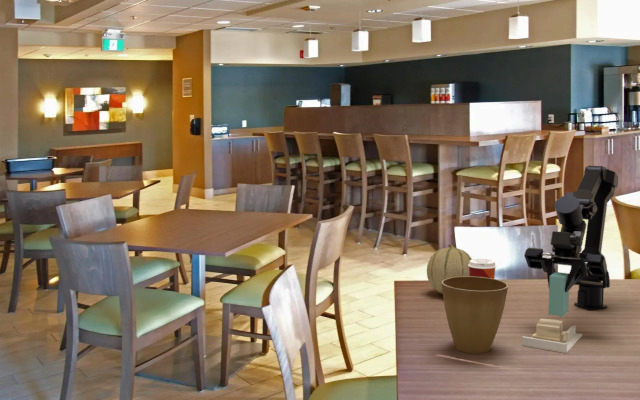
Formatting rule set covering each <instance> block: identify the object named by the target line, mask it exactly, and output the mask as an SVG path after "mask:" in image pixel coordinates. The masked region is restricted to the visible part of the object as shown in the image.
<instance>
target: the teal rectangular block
mask: <svg viewBox="0 0 640 400" xmlns="http://www.w3.org/2000/svg"><path fill="white" fill-rule="evenodd" d="M569 273H570V272H569ZM569 273H568V272H558V271H556V272H555V273H553V274H552V275H550V282H549V286H548V292H549V293H548V315H549V316H550V315H551V316H556V317H565V315H566V314H568V313H569V308H570V305H569V304H570V302H569V301H570V290H569V291H568V292H565V286H566V282H567V279H568V276H569Z"/></svg>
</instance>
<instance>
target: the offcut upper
mask: <svg viewBox="0 0 640 400" xmlns="http://www.w3.org/2000/svg"><path fill="white" fill-rule="evenodd" d="M563 323H564V322H563V320H558V319H549V318H548V319H547V318H540V319H539V320H538V322H537V323H536V327H535V328H536V331H535V332H536V336H543V337H551V338H559V337H560V335H561V333H562V331H564V330H563V327H564V326H563Z"/></svg>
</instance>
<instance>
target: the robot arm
mask: <svg viewBox="0 0 640 400" xmlns="http://www.w3.org/2000/svg"><path fill="white" fill-rule="evenodd" d="M618 185H619V175H618V174H617V172H615V171H613V170H611V169H609V168H606V167H605V166H603V165H588V166H587V165H586V166H585V168H584V172H583V176H582V178H581V181H580V183H579V185H578V187H577V189H576V190H575V191H572V192H565V195H563V196H560V197H559V198H558V199H556V201H555V202H554V209H555V214H556V216H557V219H558V223H559V225H561V228H560V231H556V230H555V231H552V232H551V237H550V238H551V239H550V245H551V246H552V248H551V251H552V253H551V252H550V253H549V252H545V251H544V249H543V248H540V247H539V248H537V247H527V248H526V249H525V252H524V259H525V261H526V264H527V268H528V267H529V268H530V269H534V270H535V269H536V270H542V272H544V273H546V276H547V283H548V286H547V287H549V282H550V275H552V274H553V273H555V272H557V271H556V268H555V265H561V266H570V270H569V276H568V279H567V282H566V286H565V292H568V291H569V292H570V290H571V289H572V287H573V286H578V290H577V298H576V299H577V301H576V302H574V303H573V305H575V306H577V307H580V308H583V309H586V310H588V311H593V310H599V309H600V310H601V309H605V308H606V309H607V308H608V305H606V304H604V291H605V290H604V289H609V288H610V286H611V279H610V273H609V271H608V270H609V269H608V265H607V261H606V256H605V255H604V254H602V250H603V249H602V247H603V240H604V233H605V232H604V231H605V224H606V215H607V208H608V203H609V202H610V200H611V199H613V197H614V196H615V193H616V188H618ZM585 220H587V223H586V221H585ZM584 237H585V240H584ZM584 241H585V242H584ZM583 242H584V248H582V246H583ZM582 249H583V250H582ZM553 253H554V254H553Z"/></svg>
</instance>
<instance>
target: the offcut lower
mask: <svg viewBox="0 0 640 400" xmlns="http://www.w3.org/2000/svg"><path fill="white" fill-rule="evenodd" d="M566 331H567V330H562V333H561V335H560V337H559V338H551V337H543V336H536V331H535V332H534V333H533V334H532V335H531V337H532V338H537V339H543V340H549V341H555V342H561V343H566Z"/></svg>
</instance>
